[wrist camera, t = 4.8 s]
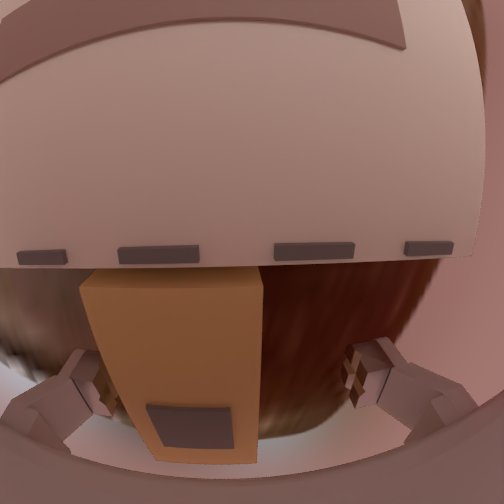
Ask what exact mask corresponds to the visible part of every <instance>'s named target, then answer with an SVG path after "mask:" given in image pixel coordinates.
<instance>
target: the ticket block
mask: <svg viewBox="0 0 504 504" xmlns="http://www.w3.org/2000/svg"><path fill="white" fill-rule="evenodd" d="M484 171H485V113H484V101H483V91H482V83H481V76H480V70H479V65H478V59H477V54H476V50H475V45H474V41H473V37H472V34H471V30H470V26H469V23H468V20H467V16H466V13H465V10H464V7H463V5H462V2H461V0H0V268H181V267H229V266H266V265H298V264H325V263H351V262H373V261H395V260H415V259H433V258H450V257H466V256H472V253H473V249H474V244H475V239H476V235H477V229H478V223H479V217H480V211H481V204H482V195H483V186H484V173H485V172H484Z"/></svg>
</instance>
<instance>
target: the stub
mask: <svg viewBox="0 0 504 504" xmlns="http://www.w3.org/2000/svg"><path fill="white" fill-rule="evenodd" d="M79 291H80V294H81V298H82V301H83V305H84V308H85V311H86V314H87V318H88V321H89V324H90V327H91V330H92V332H93V335H94V338H95V341H96V343H97V346H98V349H99V351H100V354H101V356H102V359H103V361H104V364H105V366H106V368H107V371H108V373H109V375H110V378H111V380H112V382H113V384H114V386H115V389H116V391H117V393H118V395H119V397H120V399H121V401H122V403H123V405H124V407H125V409H126V411H127V413H128V414H129V416H130V418H131V420H132V422H133V424H134V425H135V427H136V429H137V431H138V432H139V434H140V435H141V437H142V439H143V441H144V442H145V444H146V445H147V447H148V449H149V450H150V452H151V453H152V455H153V456H154V458H155V460H157V461H166V462H176V463H188V464H252V463H257V447H258V445H257V444H258V426H259V402H260V376H261V348H262V315H263V283H262V280H261V276H260V272H259V268H258V266H229V267H181V268H97V269H96V270H95V271H94V272H93V273H92V274H91V275H90V276H89V277H88V278H87V279H86V280H85V281H84V282H83V283H82V284H81V285H80V286H79Z"/></svg>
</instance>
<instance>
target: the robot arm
mask: <svg viewBox="0 0 504 504" xmlns="http://www.w3.org/2000/svg"><path fill="white" fill-rule="evenodd" d="M345 354H346V356H347V358H346V359H345V360H344V361H343V363H342V368H341V375H342V380H343V383H344V385H345V387H346V388H348V389H350V390H351V391H350V394H349V397H350V399H351V401H352V403H353V406H354V408H355V409H357V408H361V407H366V406H370V405H374V404H377V406H379V407H380V408H382V409H383V410H384V411H385V412H387V413H388V414H390V415H391V416H393V417H394V418H395V419H397V420H398V421H400V422H401V423H403V424H404V425H405V426H407V427H408V428H410V429H411V430H412V431H411V432H410V434H409V435H408V437H407V438H406V439H405V441H404V444H405V445H402V446H400V447H397V448H394V449H392V450H389V451H386V452H383V453H380V454H377V455H374V456H371V457H368V458H364V459H361V460H357V461H354V462H351V463H346V464H342V465H338V466H334V467H329V468H325V469H320V470H315V471H309V472H303V473H298V474H290V475H282V476H274V477H262V478H247V479H200V478H184V477H173V476H164V475H156V474H150V473H143V472H138V471H132V470H127V469H122V468H118V467H113V466H109V465H105V464H101V463H98V462H94V461H90V460H87V459H84V458H81V457H78V456H74V455H72V454H71V451H70V449H69V448H68V447H67V446H66V445H65V444H64V443H63V441H64V440H65V439H66V438H67V437H68V436H69V435H71V433H73V432H74V431H75V430H76V429H77V428H78V427H79V426H81V425H82V423H84V422H85V421H86V420H87V419H88V418H89V417H91V416H92V415H93V414H99V415H105V416H111V417H112V416H113V413H114V411H115V408H116V405H117V402H116V399H115V398H116V397H118V396H119V395H118V393H117V391H116V389H115V386H114V384H113V382H112V380H111V378H110V375H109V373H108V371H107V368H106V366H105V364H104V361H103V359H102V356H101V354H100V352H99V351H92V350H83V349H75V350H74V351H73V353H72V354H71V356H70V357H69V359H68V360H67V362H66V363H65V365H64V366H63V368H62V369H61V371H60V372H59V374H58V376H56V375H54V376H52V377H50V378H49V379H47V380H45V381H43V382H42V383H40V384H38V385H36V386H35V387H33V388H31V389H29V390H28V391H26V392H24V393H22V394H20V395H19V396H17V397H15V398H13V399H12V400H11V402H10V403H9V405H8V406H7V408H6V410H5V411H4V413H3V415H2V416H1V418H0V504H504V390H503V391H501V392H500V393H499V394H497V395H496V396H494V397H493V398H492V399H490V400H488V401H487V402H485V403H484V404H482V405H481V406H478V405H477V404H476V402H475V401H474V400H473V399H472V397H471V396H470V395H469V393H468V392H467V391H466V389H465V388H464V387H463V386H462V385H461V384H459V383H456V382H454V381H452V380H449V379H447V378H445V377H443V376H440V375H438V374H435V373H433V372H431V371H429V370H427V369H424V368H422V367H420V366H417V365H415V364H413V363H407V362H406V360H405V359H404V358H403V357H402V355H401V354H400V352H399V351H398V350H397V348H396V347H395V346H394V344H393V343H392V342H391V341H390V339H389V338H388V337H381V338H377V339H373V340H368V341H362V342H357V343H351V344H348V345H347V347H346V350H345ZM92 413H93V414H92Z"/></svg>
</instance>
